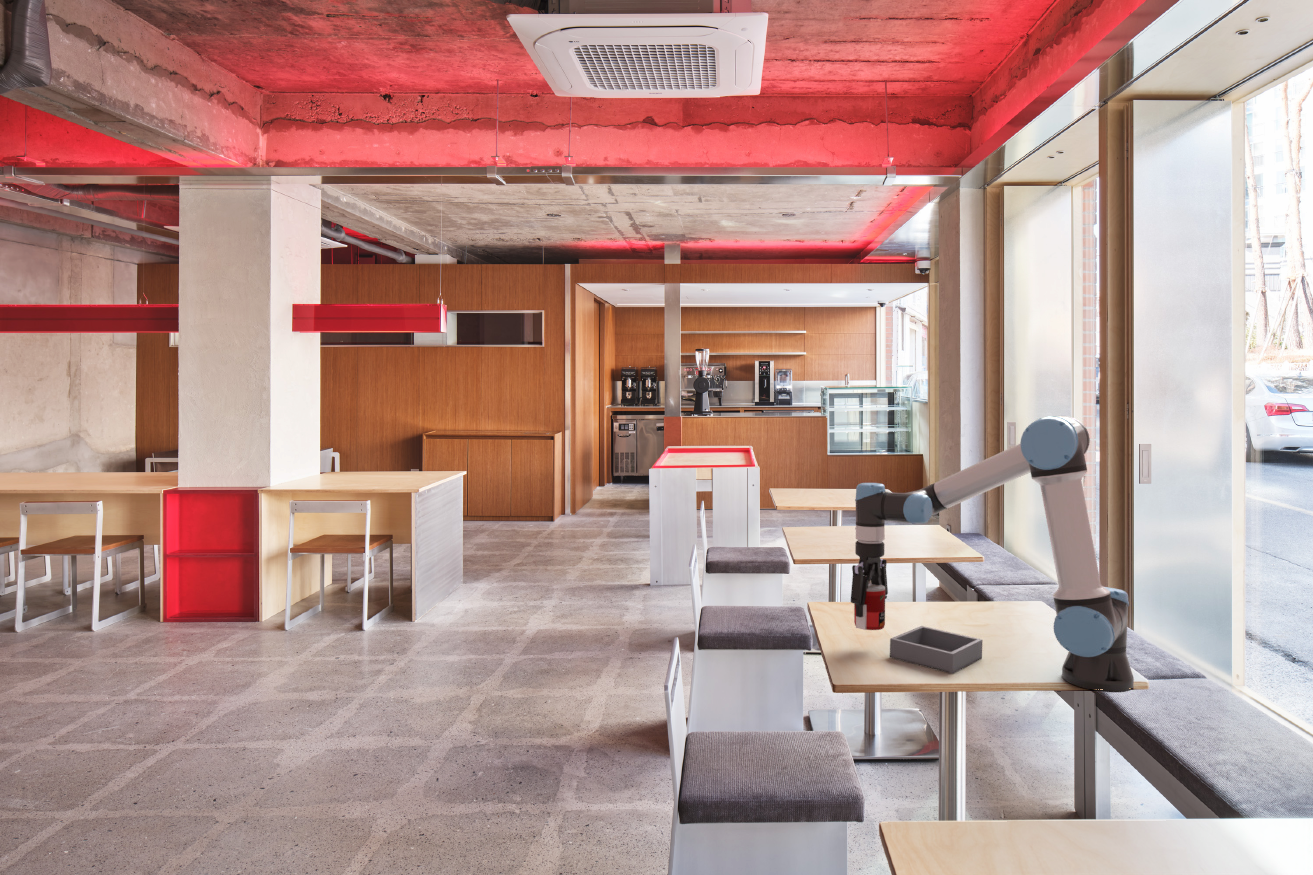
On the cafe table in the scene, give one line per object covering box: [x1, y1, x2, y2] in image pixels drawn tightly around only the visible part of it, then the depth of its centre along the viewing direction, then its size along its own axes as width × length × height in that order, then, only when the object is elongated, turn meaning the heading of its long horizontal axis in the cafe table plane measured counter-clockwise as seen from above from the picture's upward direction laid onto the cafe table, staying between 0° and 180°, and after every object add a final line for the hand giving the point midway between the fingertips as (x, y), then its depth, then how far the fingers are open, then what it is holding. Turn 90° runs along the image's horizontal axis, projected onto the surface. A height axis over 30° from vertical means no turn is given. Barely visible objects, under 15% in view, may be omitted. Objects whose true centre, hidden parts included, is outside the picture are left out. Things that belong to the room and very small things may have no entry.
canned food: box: [853, 582, 886, 631], centre depth 216 cm, size 8×8×11 cm
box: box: [889, 625, 983, 675], centre depth 210 cm, size 17×17×5 cm
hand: (869, 625), depth 216 cm, fingers closed on canned food, 8 cm apart
